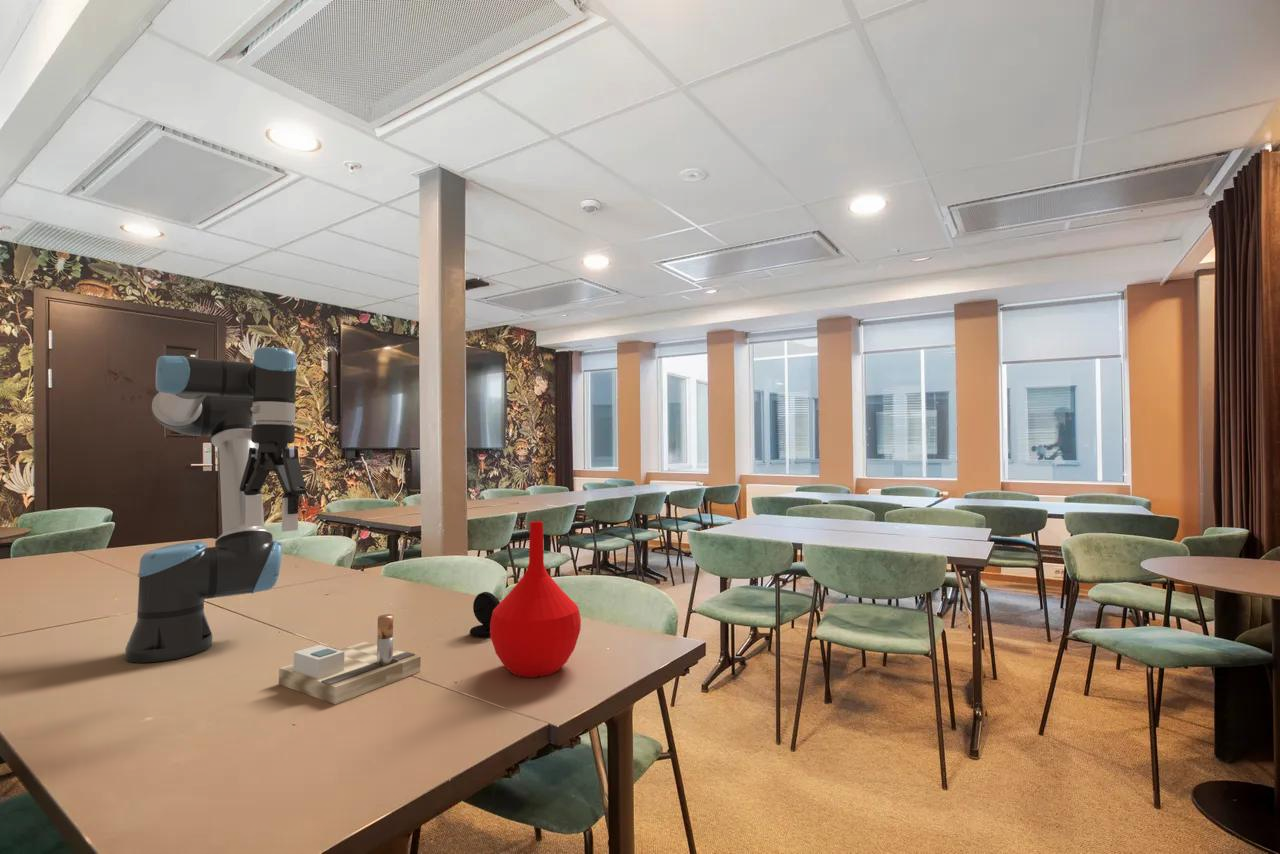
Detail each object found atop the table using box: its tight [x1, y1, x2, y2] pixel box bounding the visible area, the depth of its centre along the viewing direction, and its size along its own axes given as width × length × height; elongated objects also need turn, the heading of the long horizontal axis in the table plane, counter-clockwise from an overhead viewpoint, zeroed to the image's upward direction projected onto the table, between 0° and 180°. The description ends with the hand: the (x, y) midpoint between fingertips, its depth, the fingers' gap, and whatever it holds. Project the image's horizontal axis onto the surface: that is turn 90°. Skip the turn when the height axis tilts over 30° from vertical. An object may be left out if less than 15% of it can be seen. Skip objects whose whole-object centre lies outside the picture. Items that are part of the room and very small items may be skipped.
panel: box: [278, 641, 422, 705], centre depth 115 cm, size 18×18×3 cm
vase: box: [489, 520, 582, 678], centre depth 121 cm, size 18×18×30 cm
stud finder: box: [293, 644, 344, 679], centre depth 111 cm, size 8×5×4 cm, turn 59°
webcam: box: [469, 591, 501, 639], centre depth 144 cm, size 8×8×10 cm
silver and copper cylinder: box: [376, 613, 394, 667], centre depth 115 cm, size 3×3×12 cm
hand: (270, 528), depth 119 cm, fingers open, 13 cm apart
